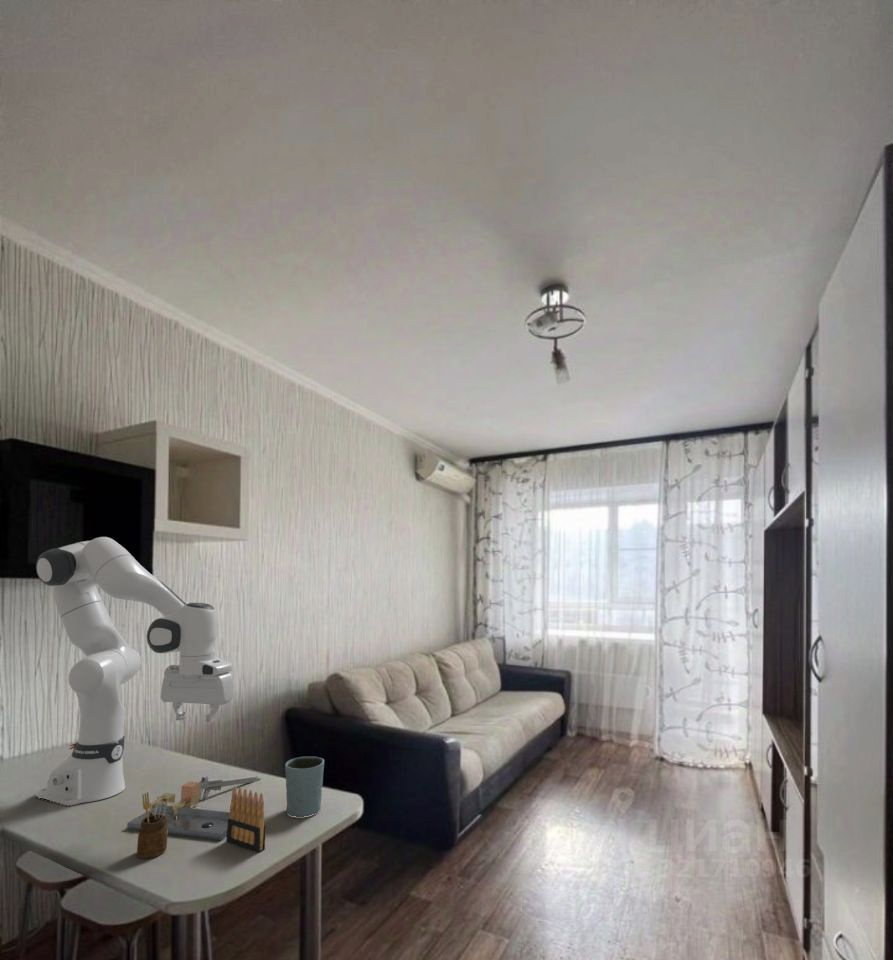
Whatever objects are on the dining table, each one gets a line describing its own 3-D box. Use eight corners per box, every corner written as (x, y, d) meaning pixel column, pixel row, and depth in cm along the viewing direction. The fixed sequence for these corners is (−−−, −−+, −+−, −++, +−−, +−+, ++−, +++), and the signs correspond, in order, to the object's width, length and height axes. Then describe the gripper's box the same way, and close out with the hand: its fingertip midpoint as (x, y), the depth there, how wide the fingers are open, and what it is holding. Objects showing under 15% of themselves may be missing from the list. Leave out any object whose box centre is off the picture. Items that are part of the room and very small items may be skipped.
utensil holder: (151, 861, 120) (155, 802, 122) (129, 856, 122) (133, 798, 124) (172, 848, 126) (176, 791, 127) (151, 844, 128) (155, 788, 130)
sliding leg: (168, 819, 136) (170, 792, 137) (187, 807, 142) (189, 781, 143) (179, 820, 135) (181, 793, 136) (198, 808, 142) (199, 782, 143)
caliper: (198, 804, 150) (199, 779, 151) (195, 803, 151) (197, 778, 152) (261, 780, 167) (262, 758, 168) (258, 779, 167) (259, 757, 168)
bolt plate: (127, 829, 135) (128, 807, 136) (156, 811, 145) (158, 791, 145) (221, 840, 129) (222, 817, 130) (246, 821, 139) (247, 800, 140)
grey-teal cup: (299, 823, 138) (301, 771, 140) (274, 812, 144) (277, 763, 146) (331, 809, 146) (332, 760, 148) (306, 799, 152) (307, 753, 154)
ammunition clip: (265, 849, 125) (267, 792, 127) (258, 853, 124) (261, 795, 125) (232, 838, 130) (235, 783, 132) (225, 842, 129) (228, 786, 131)
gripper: (156, 666, 146) (153, 722, 144) (221, 668, 141) (219, 726, 139) (174, 662, 152) (171, 715, 150) (237, 664, 147) (235, 719, 145)
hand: (195, 720), depth 144 cm, fingers open, 8 cm apart
